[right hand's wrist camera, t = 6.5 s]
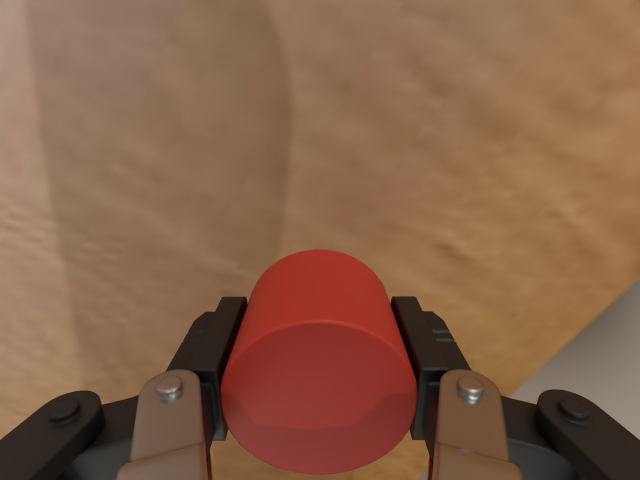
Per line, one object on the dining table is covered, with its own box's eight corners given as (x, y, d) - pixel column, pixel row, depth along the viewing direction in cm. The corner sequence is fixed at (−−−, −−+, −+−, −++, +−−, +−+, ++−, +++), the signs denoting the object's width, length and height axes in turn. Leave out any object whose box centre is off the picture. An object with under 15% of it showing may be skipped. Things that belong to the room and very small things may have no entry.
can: (275, 227, 12) (253, 291, 8) (412, 277, 12) (455, 359, 8) (232, 345, 13) (196, 447, 9) (355, 384, 14) (369, 494, 10)
